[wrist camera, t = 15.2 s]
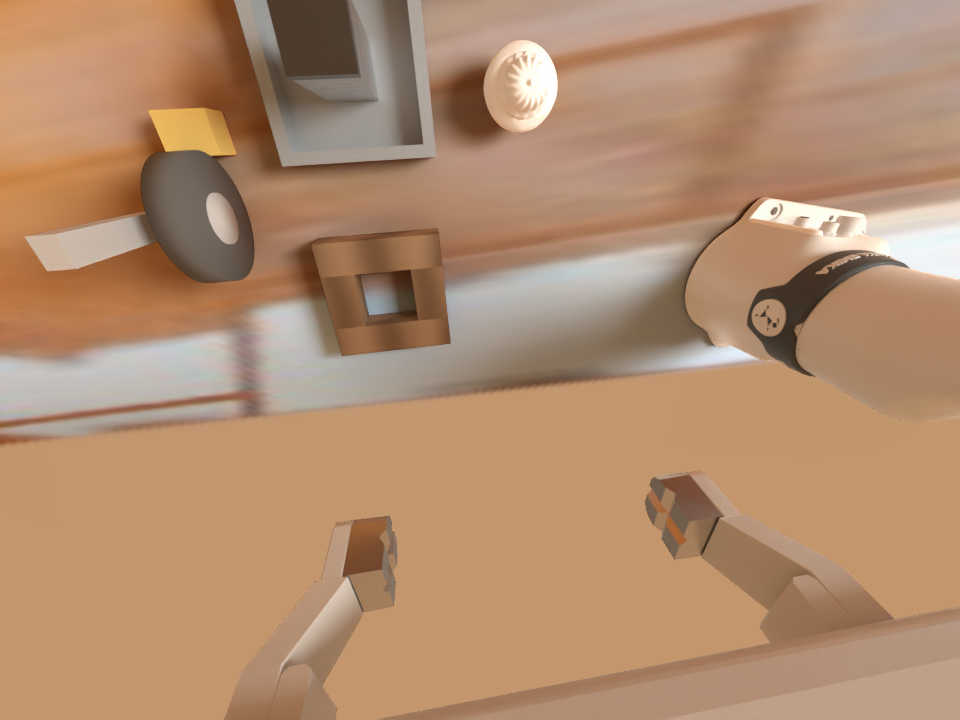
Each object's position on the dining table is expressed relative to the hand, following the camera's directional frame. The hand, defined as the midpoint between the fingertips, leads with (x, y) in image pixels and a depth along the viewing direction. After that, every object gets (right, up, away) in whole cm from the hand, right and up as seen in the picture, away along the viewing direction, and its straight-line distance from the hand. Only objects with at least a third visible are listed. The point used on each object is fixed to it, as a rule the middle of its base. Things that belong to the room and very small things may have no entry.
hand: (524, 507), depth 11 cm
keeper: (-11, +12, +29) cm, 34 cm away
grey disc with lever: (-26, +20, +22) cm, 40 cm away
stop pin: (-12, +28, +19) cm, 36 cm away
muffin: (+1, +29, +22) cm, 36 cm away
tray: (-12, +29, +19) cm, 37 cm away
